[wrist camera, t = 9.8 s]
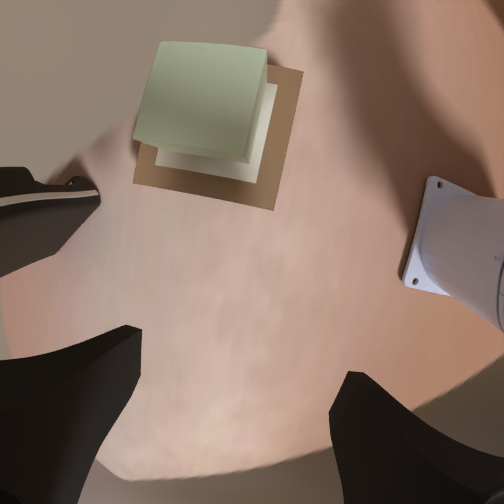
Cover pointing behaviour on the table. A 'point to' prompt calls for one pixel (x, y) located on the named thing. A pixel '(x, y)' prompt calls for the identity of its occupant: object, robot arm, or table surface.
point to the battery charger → (39, 216)
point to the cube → (204, 99)
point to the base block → (229, 172)
